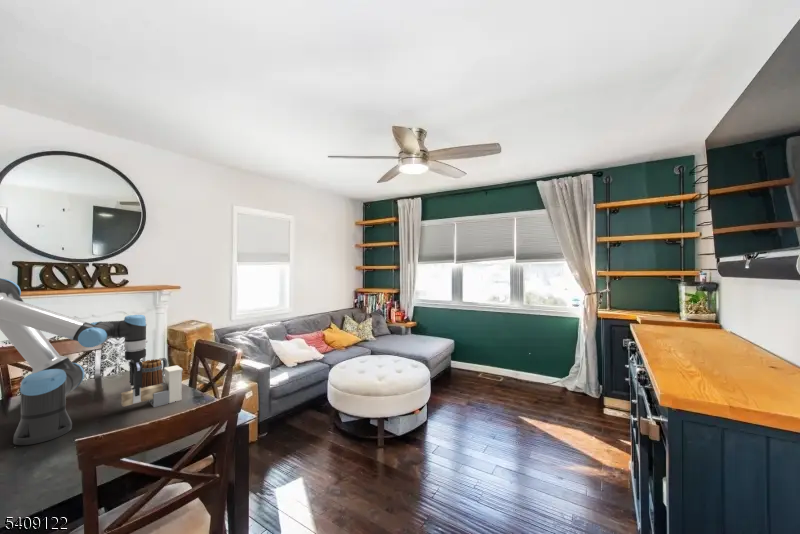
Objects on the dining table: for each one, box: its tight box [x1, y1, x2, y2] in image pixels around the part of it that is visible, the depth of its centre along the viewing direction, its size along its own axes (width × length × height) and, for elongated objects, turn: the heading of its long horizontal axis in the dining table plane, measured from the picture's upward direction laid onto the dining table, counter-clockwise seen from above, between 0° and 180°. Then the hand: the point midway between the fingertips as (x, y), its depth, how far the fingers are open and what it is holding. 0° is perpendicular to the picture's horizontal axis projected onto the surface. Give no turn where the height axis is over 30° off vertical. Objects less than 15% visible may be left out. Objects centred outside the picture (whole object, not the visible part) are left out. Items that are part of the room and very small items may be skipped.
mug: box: [141, 357, 168, 388], centre depth 172 cm, size 16×11×15 cm
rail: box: [120, 382, 167, 407], centre depth 150 cm, size 16×4×5 cm, turn 138°
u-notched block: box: [148, 365, 184, 408], centre depth 157 cm, size 11×9×15 cm
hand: (135, 400), depth 148 cm, fingers closed on rail, 4 cm apart
